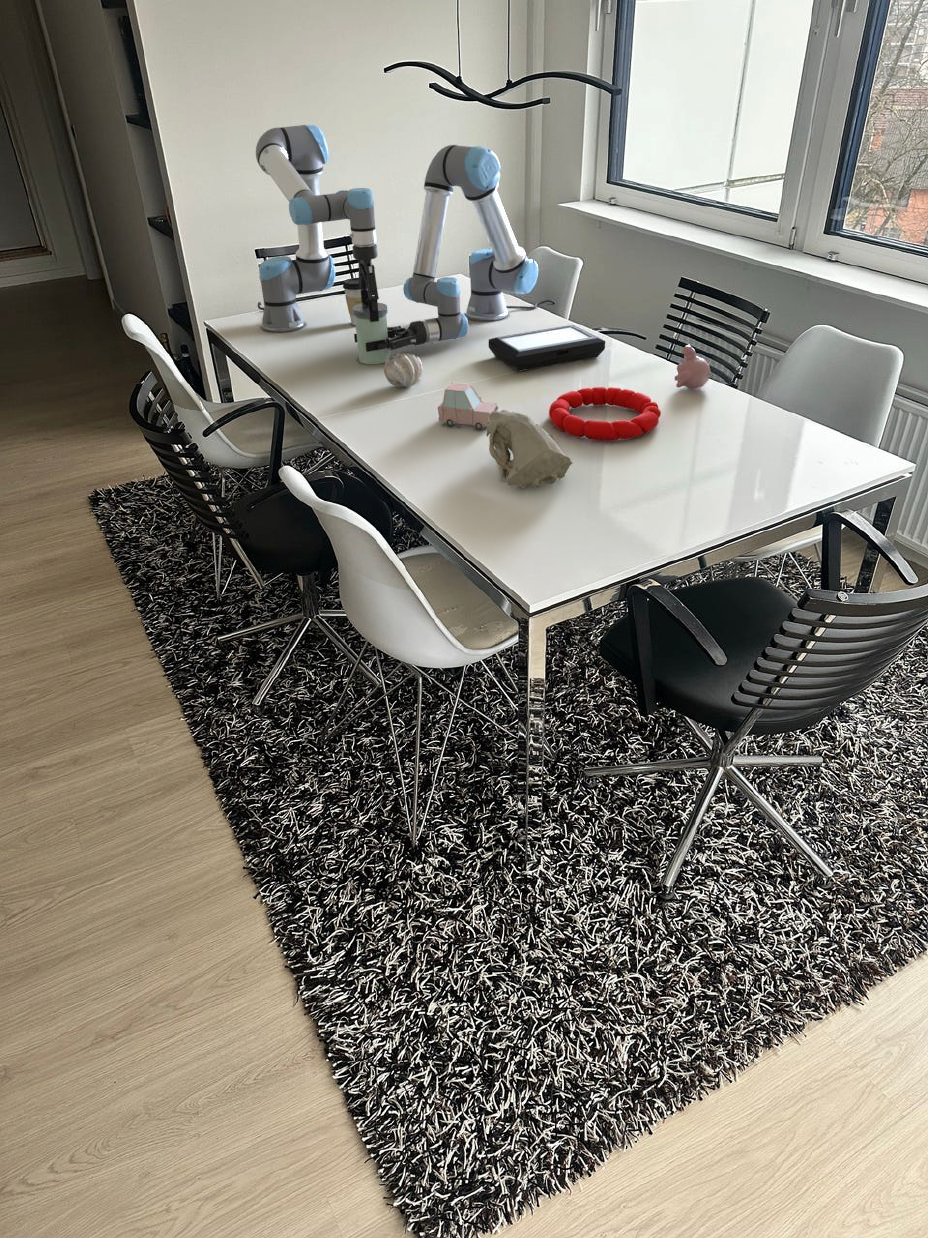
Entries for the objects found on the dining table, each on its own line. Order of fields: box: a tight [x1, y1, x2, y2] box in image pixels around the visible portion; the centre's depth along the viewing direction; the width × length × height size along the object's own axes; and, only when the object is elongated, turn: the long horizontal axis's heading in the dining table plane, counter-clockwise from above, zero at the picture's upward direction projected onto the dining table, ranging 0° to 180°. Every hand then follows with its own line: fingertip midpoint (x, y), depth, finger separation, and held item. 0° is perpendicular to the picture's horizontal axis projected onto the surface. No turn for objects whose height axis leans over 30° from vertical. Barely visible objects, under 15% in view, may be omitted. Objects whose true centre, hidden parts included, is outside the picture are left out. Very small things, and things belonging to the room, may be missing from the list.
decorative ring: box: [548, 386, 661, 442], centre depth 242 cm, size 7×30×30 cm
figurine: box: [674, 344, 711, 390], centre depth 259 cm, size 9×11×12 cm
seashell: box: [383, 352, 424, 388], centre depth 268 cm, size 10×15×10 cm
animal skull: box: [485, 409, 573, 489], centre depth 216 cm, size 17×25×20 cm
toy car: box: [437, 382, 499, 431], centre depth 243 cm, size 9×15×10 cm, turn 70°
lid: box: [353, 302, 388, 318], centre depth 284 cm, size 11×11×2 cm
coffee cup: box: [342, 277, 362, 326], centre depth 323 cm, size 10×10×15 cm
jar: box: [355, 314, 390, 365], centre depth 289 cm, size 10×10×16 cm
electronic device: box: [488, 324, 606, 372], centre depth 288 cm, size 32×6×20 cm
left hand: (370, 315), depth 285 cm, fingers open, 12 cm apart
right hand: (360, 342), depth 288 cm, fingers closed on jar, 10 cm apart
